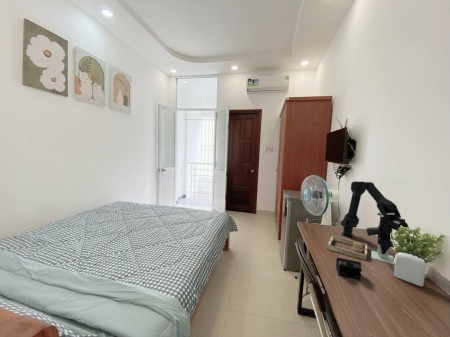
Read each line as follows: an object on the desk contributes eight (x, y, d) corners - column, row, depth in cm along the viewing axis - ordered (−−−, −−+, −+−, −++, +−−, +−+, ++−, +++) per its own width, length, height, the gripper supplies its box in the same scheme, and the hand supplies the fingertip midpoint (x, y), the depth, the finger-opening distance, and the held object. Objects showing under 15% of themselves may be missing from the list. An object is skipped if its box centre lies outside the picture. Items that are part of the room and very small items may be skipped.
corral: (331, 239, 138) (332, 235, 137) (367, 248, 126) (367, 244, 126) (327, 249, 124) (327, 245, 123) (366, 260, 112) (366, 255, 112)
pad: (371, 251, 122) (371, 250, 122) (393, 257, 116) (393, 256, 116) (371, 258, 114) (371, 257, 114) (394, 264, 108) (394, 263, 108)
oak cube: (352, 247, 126) (353, 241, 126) (360, 249, 125) (361, 243, 124) (353, 250, 123) (354, 244, 122) (361, 252, 121) (362, 245, 121)
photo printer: (392, 276, 98) (395, 251, 97) (395, 273, 101) (397, 249, 99) (422, 288, 90) (426, 261, 89) (424, 284, 93) (427, 258, 92)
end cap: (358, 272, 100) (359, 259, 100) (362, 281, 94) (363, 267, 93) (335, 267, 104) (336, 255, 103) (337, 275, 98) (338, 262, 97)
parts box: (377, 251, 118) (378, 241, 117) (387, 254, 115) (388, 243, 115) (377, 254, 114) (378, 244, 114) (387, 257, 112) (389, 246, 111)
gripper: (368, 217, 126) (365, 242, 127) (367, 226, 110) (364, 254, 112) (391, 222, 119) (388, 247, 121) (394, 232, 104) (391, 261, 105)
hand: (382, 252), depth 115 cm, fingers closed on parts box, 4 cm apart
